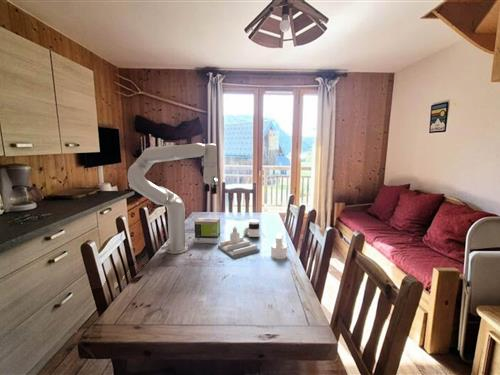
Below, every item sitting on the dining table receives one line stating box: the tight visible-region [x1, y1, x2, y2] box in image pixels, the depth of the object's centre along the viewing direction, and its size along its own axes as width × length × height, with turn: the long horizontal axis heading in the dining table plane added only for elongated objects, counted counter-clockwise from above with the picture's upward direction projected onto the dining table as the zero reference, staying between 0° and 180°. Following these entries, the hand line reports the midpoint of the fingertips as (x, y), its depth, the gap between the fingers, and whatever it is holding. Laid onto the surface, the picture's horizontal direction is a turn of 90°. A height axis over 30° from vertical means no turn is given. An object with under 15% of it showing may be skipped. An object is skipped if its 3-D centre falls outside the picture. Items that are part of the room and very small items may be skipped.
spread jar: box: [242, 219, 261, 239], centre depth 179 cm, size 12×11×12 cm
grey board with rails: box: [217, 236, 261, 260], centre depth 156 cm, size 18×19×4 cm
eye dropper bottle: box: [229, 225, 241, 245], centre depth 159 cm, size 4×6×12 cm
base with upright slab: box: [270, 232, 288, 260], centre depth 148 cm, size 9×9×12 cm
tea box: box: [193, 217, 221, 244], centre depth 170 cm, size 15×10×15 cm, turn 84°
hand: (210, 192), depth 157 cm, fingers open, 9 cm apart
